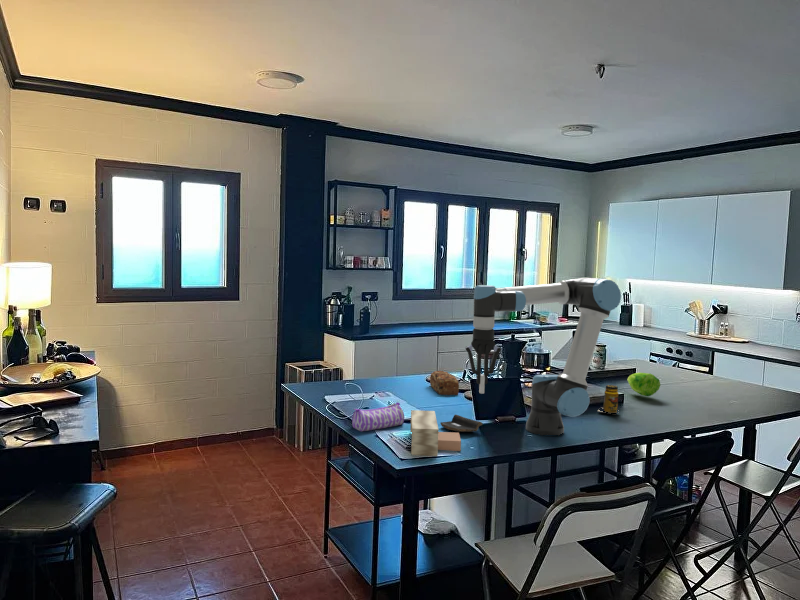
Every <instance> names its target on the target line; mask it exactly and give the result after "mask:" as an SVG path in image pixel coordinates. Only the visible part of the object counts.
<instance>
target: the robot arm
mask: <svg viewBox="0 0 800 600" xmlns="http://www.w3.org/2000/svg"><path fill="white" fill-rule="evenodd" d="M621 299H622V293H621V289H620V288H619V286H618V284H617V283H616V282H615V281H613V280H612V279H609V278H608V279H607V278H603V277H601V278H600V277H599V278H597V277H585V276H584V277H578V278H571V279H565V280H559V281H557V282H556V283H546V284H545V283H544V284H533V285H532V284H531V285H523V286H522V285H521V286H507V287H496V286H495V285H491V284H490V285H487V284H486V285H485V284H479V285H476V286H475V287H474V291H473V320H472V321H473V325H472V327H473V329H472V340H471V344H470V345H468V346H465V347H464V348H465V350H466V352H467V355H468V359H469V364H470V365H469V366H470V369H471V372H472V374H474V375H476V384H478V389H479V390H478V392H479V394H481V395H482V394H485V387H486V386H485V385H487V384H488V382H489V381H488V380H489V379H488V377H489V375H492V374H494V370H495V366H496V363H497V360H498V359H497V358H498V356H499V354H500V353H501V351H502V349H501V348H500V347H499V346H497V345H496V343H495V330H494V328H495V315H496V314H495V313H497V312H522V311H523V310H524V309H525V307H526V306H528V305H529V306H530V305H542V304H543V305H544V304H554V303H558V304H560V305H573V306H578V310H579V313H580V315H579V320H578V321H577V326H576V328H575V329H576V330H575V333H574V336H573V339H572V342H571V345H570V348H569V352H568V355H567V359H566V361H565V365H564V368H563V372H561V373H560V374H535V375H534V376H533V377H532V381H531V382H532V383H531V386H532V387H531V402H530V403H531V406H530V413H529V415H528V418H527V419H526V423H525V430H526V431H527V432H529V433H531V434H535V435H537V434H540V435H539V436H543V435H558V436H561V435H560V434H562V433H563V434H564V433H565V426H564V422H563V419H562V415H563V416H565V417H566V416H567V417H571V418H575V417H579V416H580V415H582V414H583V413H585V411H587V409H588V408H589V405H590V399H591V398H590V396H589V395H590V394H589V393H588V391H587V390H588V387H589V384H588V383H587V380H586V378H587V375H588V372H589V368H590V364H591V362H592V360H593V359H592V358H593V355H594V353H595V352H594V351H595V350H596V346H597V343H598V338H599V336H600V332H601V330H602V326H603V323H604V320H605V319H607V318H609V317H610V314H611V311H613V310H615V309H616V308H617V307H618V306H619V305H620V303H621ZM473 349H474V351H475V352H476V367H475V361H474V356H473V352H472V351H473ZM492 350H493V353H492V357H491V361H490V364H489V356H490V353H491V352H492ZM482 356H483V373H482ZM563 434H562V435H563Z"/></svg>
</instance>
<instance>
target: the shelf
mask: <svg viewBox="0 0 800 600" xmlns="http://www.w3.org/2000/svg"><path fill="white" fill-rule="evenodd" d="M439 430H440V429H439V425H438V421H437V416H436V411H435V410H417V409H416V410H415V409H414V410H410V431H409V432H412V434H411V449H410V451H411V452H410V454H412V456H425V457H426V456H427V457H428V456H429V457H438V455H439V454H438V453H439V450H438V432H439Z"/></svg>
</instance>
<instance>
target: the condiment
mask: <svg viewBox="0 0 800 600" xmlns="http://www.w3.org/2000/svg"><path fill="white" fill-rule="evenodd" d="M618 388H619V387H618V386H617V385H615V384H607V385H605V388H604V389H605V390H604V395H603V396H604V397H603V407H601V408H602V409H604V411H605V412H603V411H600V410H599V409H598V410H597V412H600V413H606V412H608V413H607V414H611V413H617V410H618V406H619V392H618ZM617 414H618V413H617Z"/></svg>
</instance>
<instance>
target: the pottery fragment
mask: <svg viewBox="0 0 800 600" xmlns="http://www.w3.org/2000/svg"><path fill="white" fill-rule="evenodd" d="M440 426H441V427H442V428H444V429H447V430H451V431H452V432H453V431H455V432H466V433H471V432H472V433H474V432H477V431H478V430H479V427H480V426H483V422H482V421H480V420H475V419H471V418H468V417H464V416H462V415H458V414H454V415H453V417H452V420H450V421H444V422H442V421H441V422H440Z"/></svg>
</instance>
